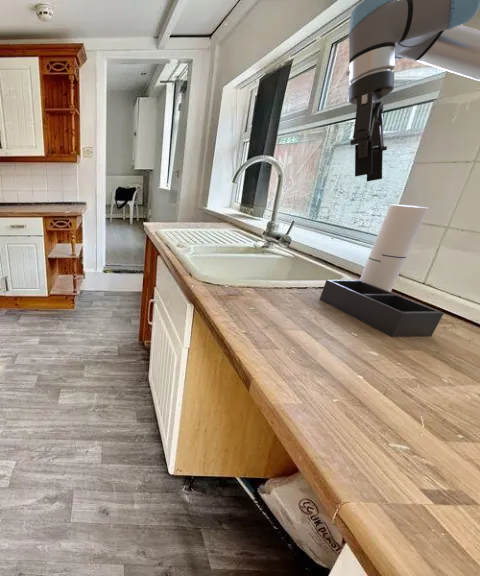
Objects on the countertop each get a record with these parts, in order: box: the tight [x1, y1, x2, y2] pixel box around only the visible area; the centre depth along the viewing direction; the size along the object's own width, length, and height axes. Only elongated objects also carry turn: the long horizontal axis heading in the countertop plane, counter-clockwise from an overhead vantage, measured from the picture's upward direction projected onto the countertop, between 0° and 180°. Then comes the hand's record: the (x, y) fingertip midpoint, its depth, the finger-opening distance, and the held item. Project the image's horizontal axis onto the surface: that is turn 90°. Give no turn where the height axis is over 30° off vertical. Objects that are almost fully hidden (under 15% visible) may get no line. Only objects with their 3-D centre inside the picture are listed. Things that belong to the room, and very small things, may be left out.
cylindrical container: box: [359, 203, 430, 292], centre depth 81 cm, size 7×7×25 cm
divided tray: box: [319, 279, 445, 338], centre depth 73 cm, size 10×19×6 cm, turn 7°
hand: (369, 177), depth 70 cm, fingers open, 13 cm apart
